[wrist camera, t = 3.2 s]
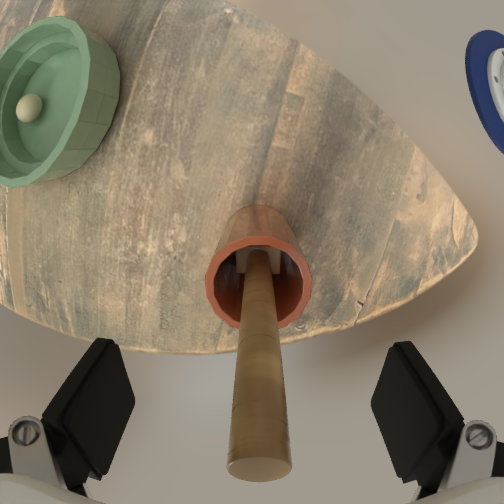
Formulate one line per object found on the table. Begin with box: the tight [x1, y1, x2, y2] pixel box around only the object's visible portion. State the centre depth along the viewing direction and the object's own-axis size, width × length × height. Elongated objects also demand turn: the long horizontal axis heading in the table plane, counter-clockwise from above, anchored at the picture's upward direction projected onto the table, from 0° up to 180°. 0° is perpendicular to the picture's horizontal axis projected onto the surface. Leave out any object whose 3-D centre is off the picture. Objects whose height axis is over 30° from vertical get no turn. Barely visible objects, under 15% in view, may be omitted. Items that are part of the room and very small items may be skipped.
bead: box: [16, 94, 42, 122], centre depth 19 cm, size 3×3×3 cm
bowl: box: [0, 16, 120, 188], centre depth 18 cm, size 16×16×6 cm
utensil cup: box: [205, 205, 312, 329], centre depth 20 cm, size 6×6×10 cm
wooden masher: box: [227, 245, 292, 482], centre depth 15 cm, size 3×2×20 cm, turn 90°
